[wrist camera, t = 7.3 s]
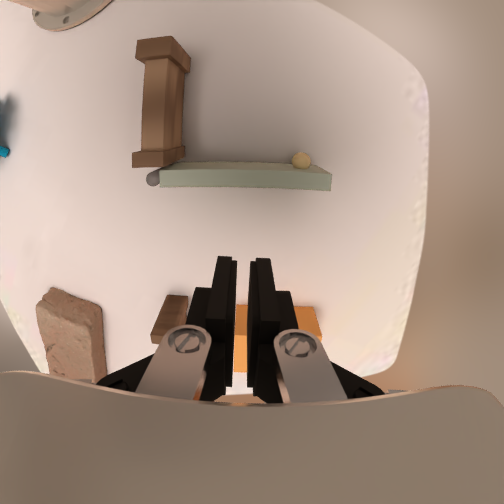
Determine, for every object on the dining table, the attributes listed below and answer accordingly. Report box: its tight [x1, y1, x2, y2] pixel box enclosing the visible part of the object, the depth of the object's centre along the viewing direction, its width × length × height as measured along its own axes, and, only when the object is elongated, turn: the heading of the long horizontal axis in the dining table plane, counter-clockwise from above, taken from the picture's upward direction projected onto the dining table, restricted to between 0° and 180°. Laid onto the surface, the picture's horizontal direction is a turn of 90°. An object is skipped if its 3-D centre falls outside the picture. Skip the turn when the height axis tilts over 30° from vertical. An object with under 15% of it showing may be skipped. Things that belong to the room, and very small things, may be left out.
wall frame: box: [132, 36, 191, 344], centre depth 23 cm, size 30×2×6 cm, turn 177°
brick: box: [36, 288, 107, 383], centre depth 30 cm, size 17×8×5 cm, turn 164°
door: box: [146, 152, 332, 191], centre depth 21 cm, size 13×2×5 cm, turn 88°
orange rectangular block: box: [234, 305, 322, 372], centre depth 28 cm, size 5×8×5 cm, turn 87°
